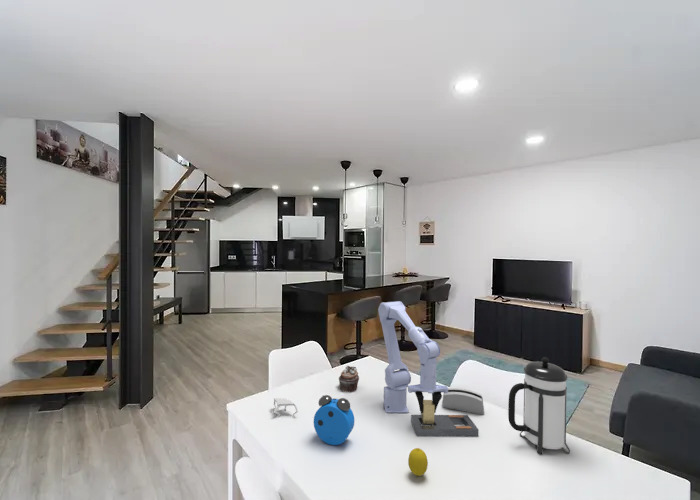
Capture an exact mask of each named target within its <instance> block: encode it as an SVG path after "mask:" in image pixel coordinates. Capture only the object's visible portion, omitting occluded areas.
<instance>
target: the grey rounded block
mask: <svg viewBox="0 0 700 500" xmlns="http://www.w3.org/2000/svg"><path fill="white" fill-rule="evenodd" d="M441 407H442V408H446V409H452V410H458V411H461V412H462V411H463V412H468V413H469V412H470V413H473V414H480V415H484V414H485V407H484V400H483V395H482V394H481V393H479V392H477V391H474V390H471V389H466V388H461V387H460V388H459V387H448V393H445V392H443V395H442V401H441Z"/></svg>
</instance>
